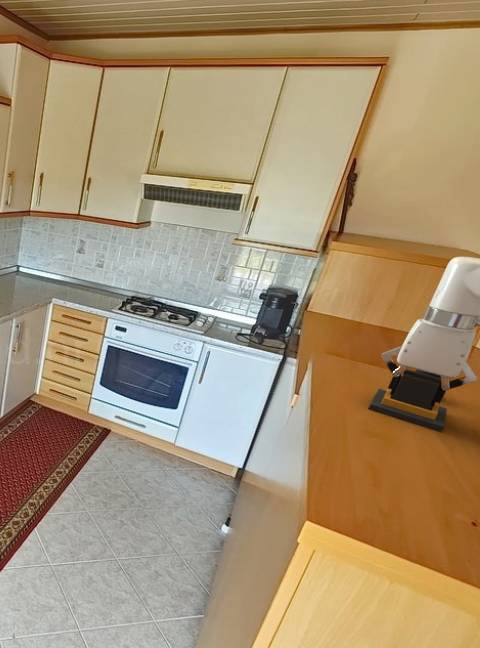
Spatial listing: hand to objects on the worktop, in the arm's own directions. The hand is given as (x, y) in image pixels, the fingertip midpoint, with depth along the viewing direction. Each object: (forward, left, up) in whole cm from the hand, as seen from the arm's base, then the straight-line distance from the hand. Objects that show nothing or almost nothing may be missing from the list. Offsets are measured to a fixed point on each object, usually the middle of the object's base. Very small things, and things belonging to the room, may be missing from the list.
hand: (411, 398), depth 105 cm
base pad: (0, 0, -3) cm, 3 cm away
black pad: (0, 0, -1) cm, 1 cm away
